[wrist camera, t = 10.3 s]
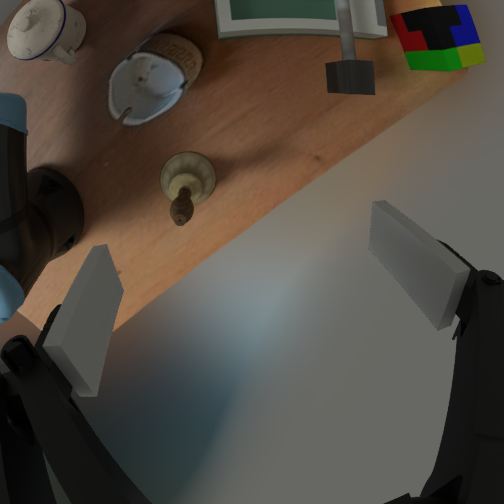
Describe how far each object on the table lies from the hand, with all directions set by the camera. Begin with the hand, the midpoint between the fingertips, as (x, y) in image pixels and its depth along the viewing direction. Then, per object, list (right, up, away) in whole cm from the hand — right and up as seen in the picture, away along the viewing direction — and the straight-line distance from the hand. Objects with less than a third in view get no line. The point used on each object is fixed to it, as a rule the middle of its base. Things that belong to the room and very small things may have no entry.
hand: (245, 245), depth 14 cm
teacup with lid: (-27, +30, +15) cm, 43 cm away
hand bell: (-9, +10, +30) cm, 33 cm away
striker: (+9, +35, +16) cm, 40 cm away
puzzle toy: (+29, +36, +22) cm, 51 cm away
